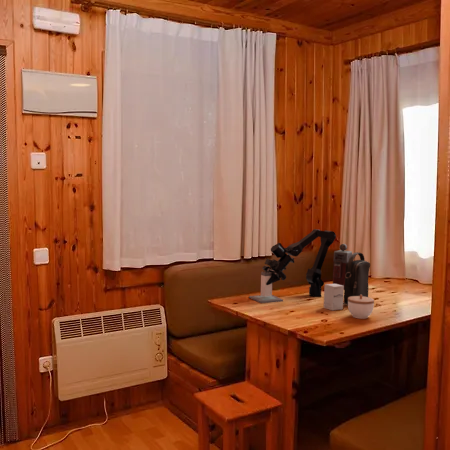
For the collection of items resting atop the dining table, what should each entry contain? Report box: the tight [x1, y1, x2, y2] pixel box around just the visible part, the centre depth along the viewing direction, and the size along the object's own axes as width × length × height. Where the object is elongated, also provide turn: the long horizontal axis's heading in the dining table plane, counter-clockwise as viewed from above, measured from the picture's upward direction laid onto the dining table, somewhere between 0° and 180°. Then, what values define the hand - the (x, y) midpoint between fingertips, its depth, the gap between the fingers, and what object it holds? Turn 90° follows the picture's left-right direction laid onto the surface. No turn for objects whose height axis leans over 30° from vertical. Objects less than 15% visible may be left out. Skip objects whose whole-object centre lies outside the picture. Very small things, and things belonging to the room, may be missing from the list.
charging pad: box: [248, 294, 284, 304], centre depth 293 cm, size 14×14×1 cm
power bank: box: [260, 271, 273, 297], centre depth 292 cm, size 5×5×13 cm
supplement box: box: [323, 283, 344, 311], centre depth 275 cm, size 7×7×13 cm
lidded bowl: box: [347, 295, 375, 320], centre depth 258 cm, size 13×13×11 cm
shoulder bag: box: [343, 252, 371, 306], centre depth 290 cm, size 23×9×28 cm, turn 142°
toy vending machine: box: [332, 243, 353, 288], centre depth 329 cm, size 9×11×28 cm
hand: (264, 283), depth 291 cm, fingers closed on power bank, 5 cm apart
